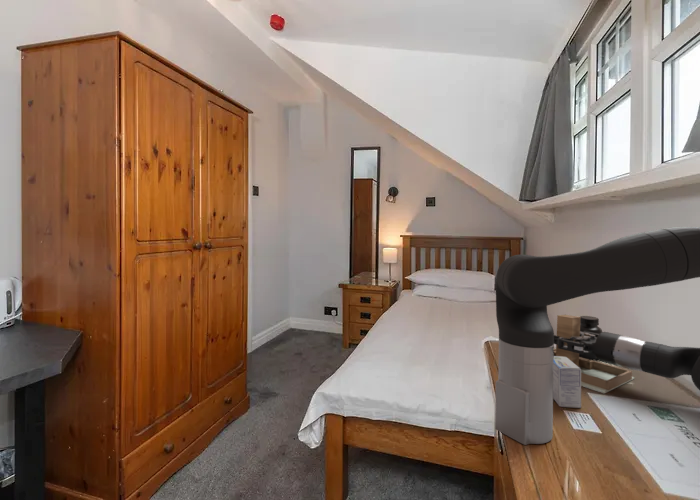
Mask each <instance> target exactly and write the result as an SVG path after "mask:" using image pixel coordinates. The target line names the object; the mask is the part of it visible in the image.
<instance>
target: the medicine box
mask: <svg viewBox="0 0 700 500" xmlns="http://www.w3.org/2000/svg"><path fill="white" fill-rule="evenodd" d="M553 401H555V403H556V404H557V405H558V407H562V408H572V409H573V408H574V409H575V408H576V409H581V408H582V386H581V369H580V368H579V367H578V366H577V365H575V364H574V363H573V362H572V361H571V360H569V359H568V358H567V357H562V356H554V361H553Z"/></svg>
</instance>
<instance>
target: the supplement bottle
mask: <svg viewBox="0 0 700 500" xmlns="http://www.w3.org/2000/svg"><path fill="white" fill-rule="evenodd" d="M579 317H580V331H581V332H584V331H588V332H592V333H597V334H600V333H601V332H603V330H602V328H601V327H599V324H600V323H599V322H600V321H599V318H598V317H595V316H591V315H579ZM579 357H581V358H585V359H589V360H590V361H591V360H593V361H599V360H598V359H597V358H596V355H595V354H594V352H584V354H579Z"/></svg>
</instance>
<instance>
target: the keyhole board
mask: <svg viewBox="0 0 700 500" xmlns="http://www.w3.org/2000/svg"><path fill="white" fill-rule="evenodd" d="M554 356H556V348H554ZM579 366H580V369H581V387H583V388H586V389H589V390H592V391H594V392H598V393H601V394H604V395H605V394H606V393H608V392H611V391H613V390H615V389H616V388H619V387H621V386H623V385H625V384H627V383H629V382H631V381H632V380H635V378H636V377H634V376H633V370H631V369H627V368H623V367H620V366H616V365H612V364H609V363H605V362H601V361H598V360H589V359H585V358H581V357H579Z"/></svg>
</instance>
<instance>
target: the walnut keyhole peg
mask: <svg viewBox="0 0 700 500" xmlns="http://www.w3.org/2000/svg"><path fill="white" fill-rule="evenodd" d="M556 317H557V318H556V336H560V337H569V336H580V316H576V315H575V316H574V315H571V314H559V315H557V316H556ZM574 342H575V339H574ZM564 344H566V345H567V343H565V342H564ZM555 346H556V347H555V349H556V356H562V357H567V358H568V359H569V360H571V361H572V362H573V363H574V364H575V365H577V366H578V367H579V368H580V366H579V353H575V352H571V351H567V350H563V349H559V348H558V345H556V344H555Z"/></svg>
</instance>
